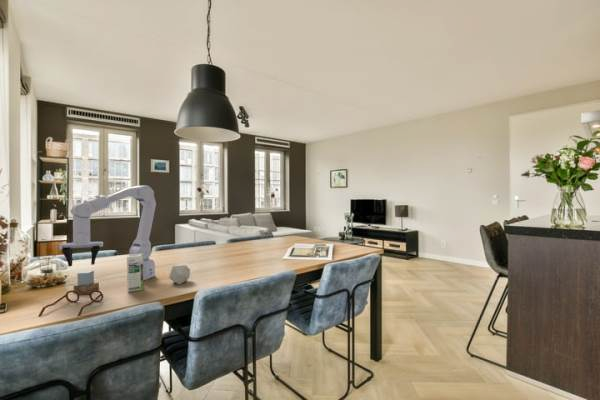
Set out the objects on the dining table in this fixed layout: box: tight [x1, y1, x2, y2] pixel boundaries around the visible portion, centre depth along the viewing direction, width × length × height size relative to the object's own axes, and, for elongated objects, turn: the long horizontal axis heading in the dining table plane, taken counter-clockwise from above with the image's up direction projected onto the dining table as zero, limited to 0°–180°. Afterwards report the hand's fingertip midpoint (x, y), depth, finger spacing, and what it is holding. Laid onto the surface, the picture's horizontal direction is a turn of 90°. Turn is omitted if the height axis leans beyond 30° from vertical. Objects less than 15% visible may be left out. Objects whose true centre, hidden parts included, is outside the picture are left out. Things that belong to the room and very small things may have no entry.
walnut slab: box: [73, 281, 100, 294], centre depth 120 cm, size 6×6×3 cm
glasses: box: [37, 289, 104, 318], centre depth 101 cm, size 13×13×5 cm
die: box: [168, 263, 191, 285], centre depth 131 cm, size 8×9×10 cm
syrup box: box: [126, 254, 144, 293], centre depth 122 cm, size 6×6×14 cm
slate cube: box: [77, 270, 95, 286], centre depth 120 cm, size 4×4×5 cm
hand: (81, 265), depth 120 cm, fingers open, 7 cm apart
